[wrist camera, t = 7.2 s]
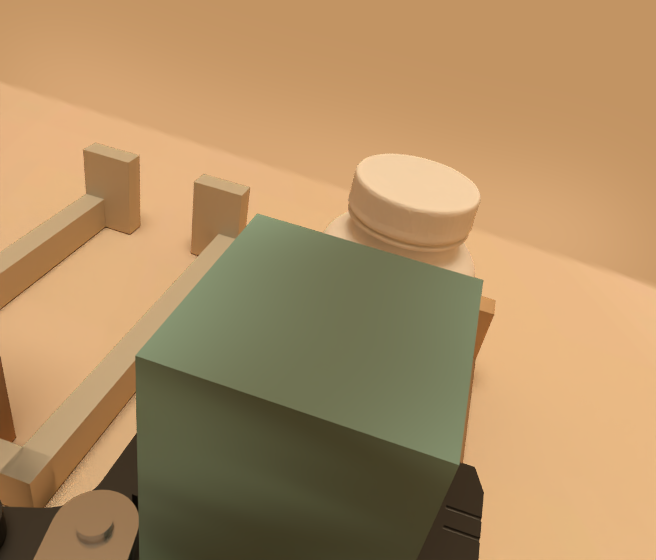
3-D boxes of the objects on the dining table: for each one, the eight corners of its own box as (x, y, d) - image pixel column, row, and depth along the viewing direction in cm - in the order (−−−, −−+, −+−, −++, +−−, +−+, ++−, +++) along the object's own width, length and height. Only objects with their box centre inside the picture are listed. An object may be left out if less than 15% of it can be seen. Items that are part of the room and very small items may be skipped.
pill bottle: (413, 472, 22) (503, 244, 16) (272, 427, 22) (312, 192, 17) (430, 374, 26) (505, 169, 21) (312, 338, 27) (353, 129, 21)
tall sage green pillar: (49, 741, 14) (-67, 287, 7) (291, 316, 28) (341, 18, 21) (393, 892, 13) (721, 553, 5) (466, 371, 27) (585, 78, 19)
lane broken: (-232, 457, 18) (-490, -6, 11) (99, 213, 32) (83, -63, 25) (7, 552, 17) (-101, 108, 10) (242, 256, 31) (271, -19, 24)
